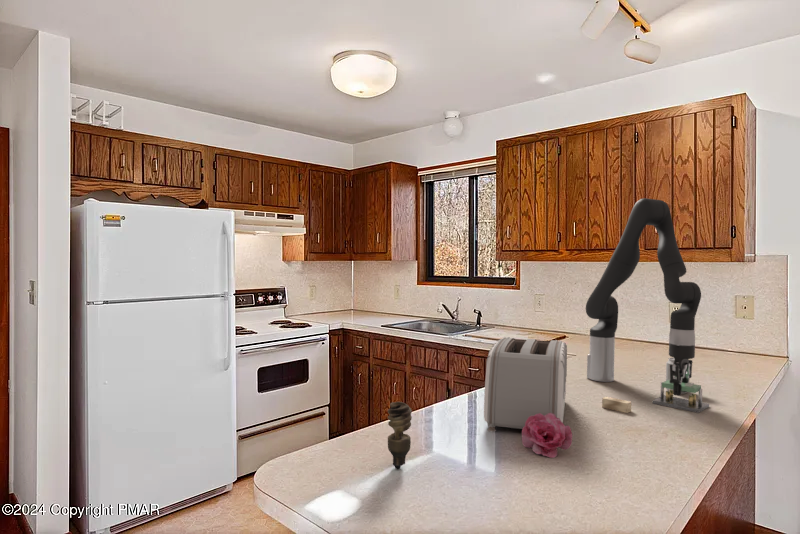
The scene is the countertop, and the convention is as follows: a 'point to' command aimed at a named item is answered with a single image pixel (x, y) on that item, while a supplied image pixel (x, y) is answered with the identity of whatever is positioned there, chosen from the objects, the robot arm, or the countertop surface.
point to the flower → (546, 434)
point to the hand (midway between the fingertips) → (680, 393)
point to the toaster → (524, 381)
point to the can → (670, 361)
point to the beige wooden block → (616, 404)
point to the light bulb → (399, 432)
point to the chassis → (681, 401)
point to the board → (683, 386)
